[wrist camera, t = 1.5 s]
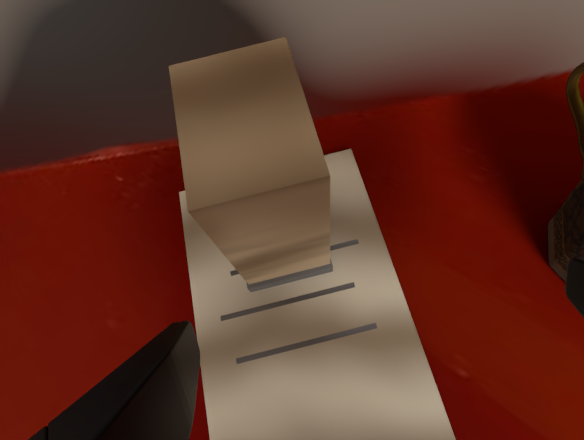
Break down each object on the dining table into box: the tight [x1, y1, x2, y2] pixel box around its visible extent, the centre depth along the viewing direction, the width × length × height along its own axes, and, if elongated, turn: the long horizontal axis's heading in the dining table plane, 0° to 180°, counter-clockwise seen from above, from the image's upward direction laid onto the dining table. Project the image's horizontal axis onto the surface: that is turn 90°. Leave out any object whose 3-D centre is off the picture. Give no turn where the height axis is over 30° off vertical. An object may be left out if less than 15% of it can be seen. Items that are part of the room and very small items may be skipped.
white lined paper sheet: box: [179, 149, 456, 440], centre depth 21 cm, size 23×12×1 cm, turn 13°
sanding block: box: [169, 37, 333, 292], centre depth 19 cm, size 7×5×11 cm
